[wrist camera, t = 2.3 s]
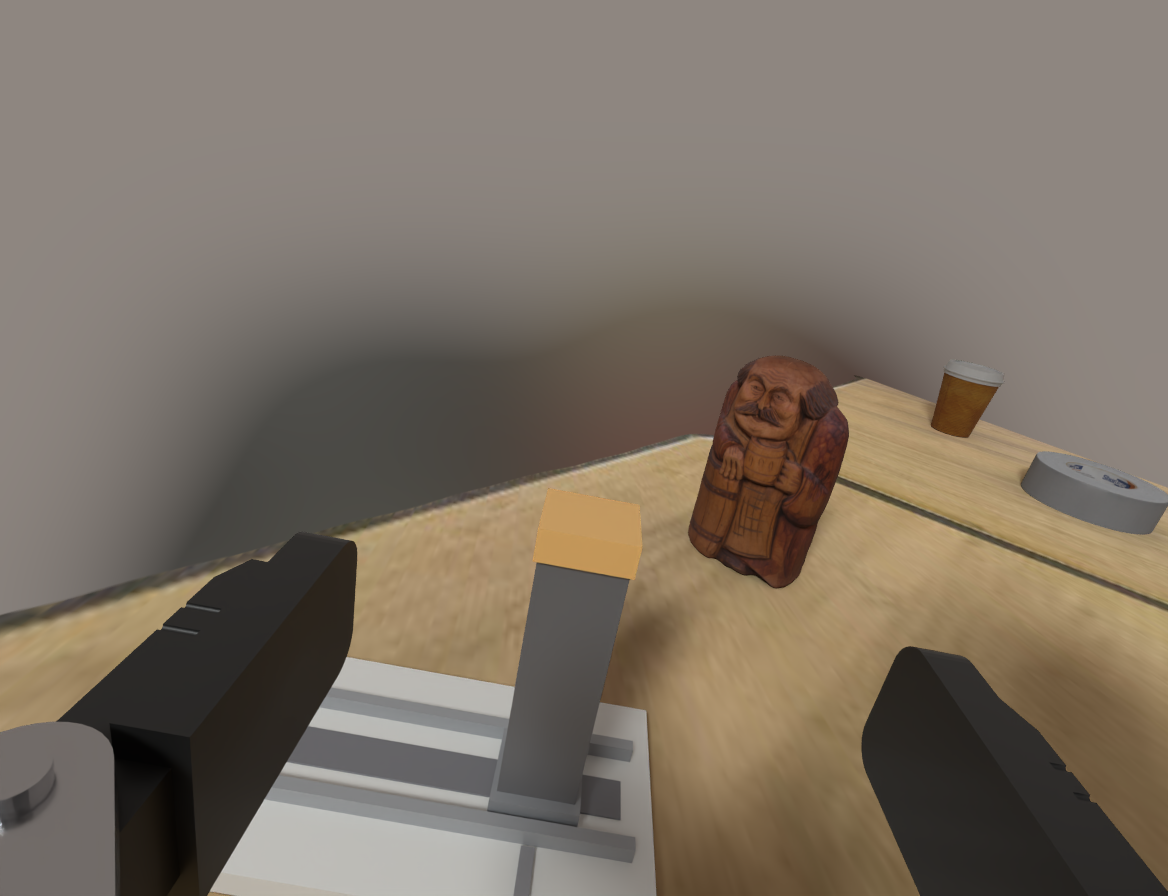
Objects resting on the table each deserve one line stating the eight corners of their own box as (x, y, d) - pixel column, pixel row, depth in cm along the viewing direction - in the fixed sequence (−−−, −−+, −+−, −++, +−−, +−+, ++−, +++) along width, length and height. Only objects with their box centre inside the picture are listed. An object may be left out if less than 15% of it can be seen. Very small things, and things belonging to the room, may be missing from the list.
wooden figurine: (663, 535, 57) (713, 342, 50) (699, 517, 62) (749, 339, 55) (782, 600, 50) (858, 388, 44) (812, 575, 55) (884, 380, 49)
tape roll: (1172, 530, 84) (1192, 497, 83) (1120, 541, 77) (1140, 505, 75) (1053, 479, 97) (1068, 449, 95) (998, 484, 89) (1013, 452, 88)
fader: (581, 754, 31) (641, 502, 26) (576, 828, 27) (645, 552, 22) (502, 740, 31) (546, 484, 26) (486, 813, 27) (534, 532, 22)
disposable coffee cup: (969, 429, 116) (996, 367, 112) (986, 445, 108) (1016, 379, 103) (915, 417, 118) (940, 355, 114) (928, 432, 109) (955, 366, 105)
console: (641, 721, 36) (648, 694, 35) (652, 978, 24) (664, 946, 23) (172, 637, 35) (170, 608, 35) (-55, 857, 23) (-66, 820, 23)
